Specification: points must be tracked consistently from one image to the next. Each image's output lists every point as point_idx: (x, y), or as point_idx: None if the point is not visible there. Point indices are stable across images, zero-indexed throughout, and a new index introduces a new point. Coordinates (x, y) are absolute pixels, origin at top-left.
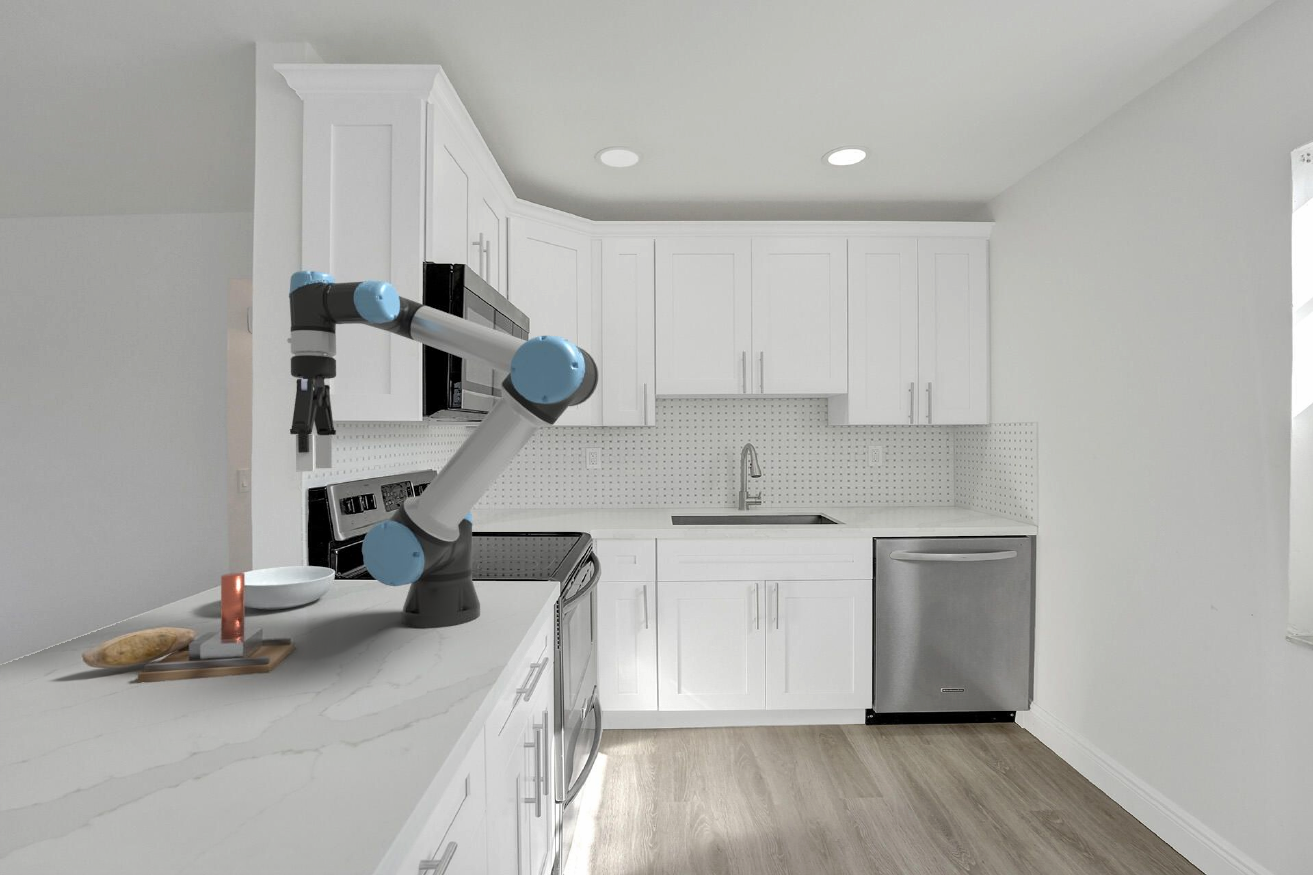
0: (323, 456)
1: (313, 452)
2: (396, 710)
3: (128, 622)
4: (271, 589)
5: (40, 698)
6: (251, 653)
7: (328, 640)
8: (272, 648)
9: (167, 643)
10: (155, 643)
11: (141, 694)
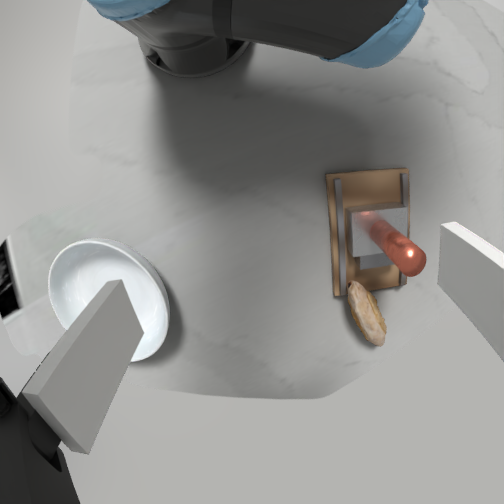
0: (113, 339)
1: (497, 256)
2: (475, 39)
3: (203, 394)
4: (163, 292)
5: (412, 328)
6: (377, 204)
7: (285, 148)
8: (351, 192)
9: (371, 295)
10: (375, 303)
11: (427, 260)
